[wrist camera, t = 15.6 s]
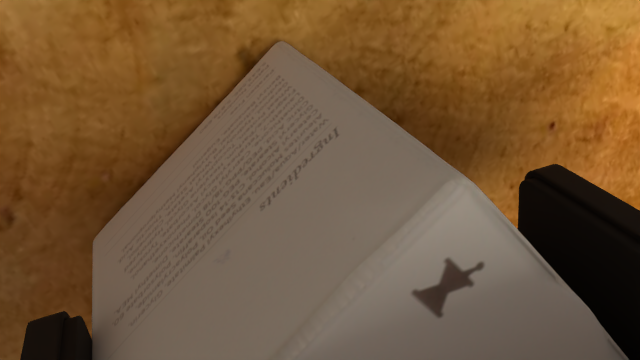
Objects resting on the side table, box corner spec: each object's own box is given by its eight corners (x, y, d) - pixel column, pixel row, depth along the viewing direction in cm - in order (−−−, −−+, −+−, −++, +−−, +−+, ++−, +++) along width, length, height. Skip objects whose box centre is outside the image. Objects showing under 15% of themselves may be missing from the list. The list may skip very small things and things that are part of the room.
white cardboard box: (87, 236, 13) (64, 572, 6) (280, 30, 12) (473, 167, 6) (277, 354, 16) (393, 659, 9) (438, 194, 15) (676, 400, 9)
